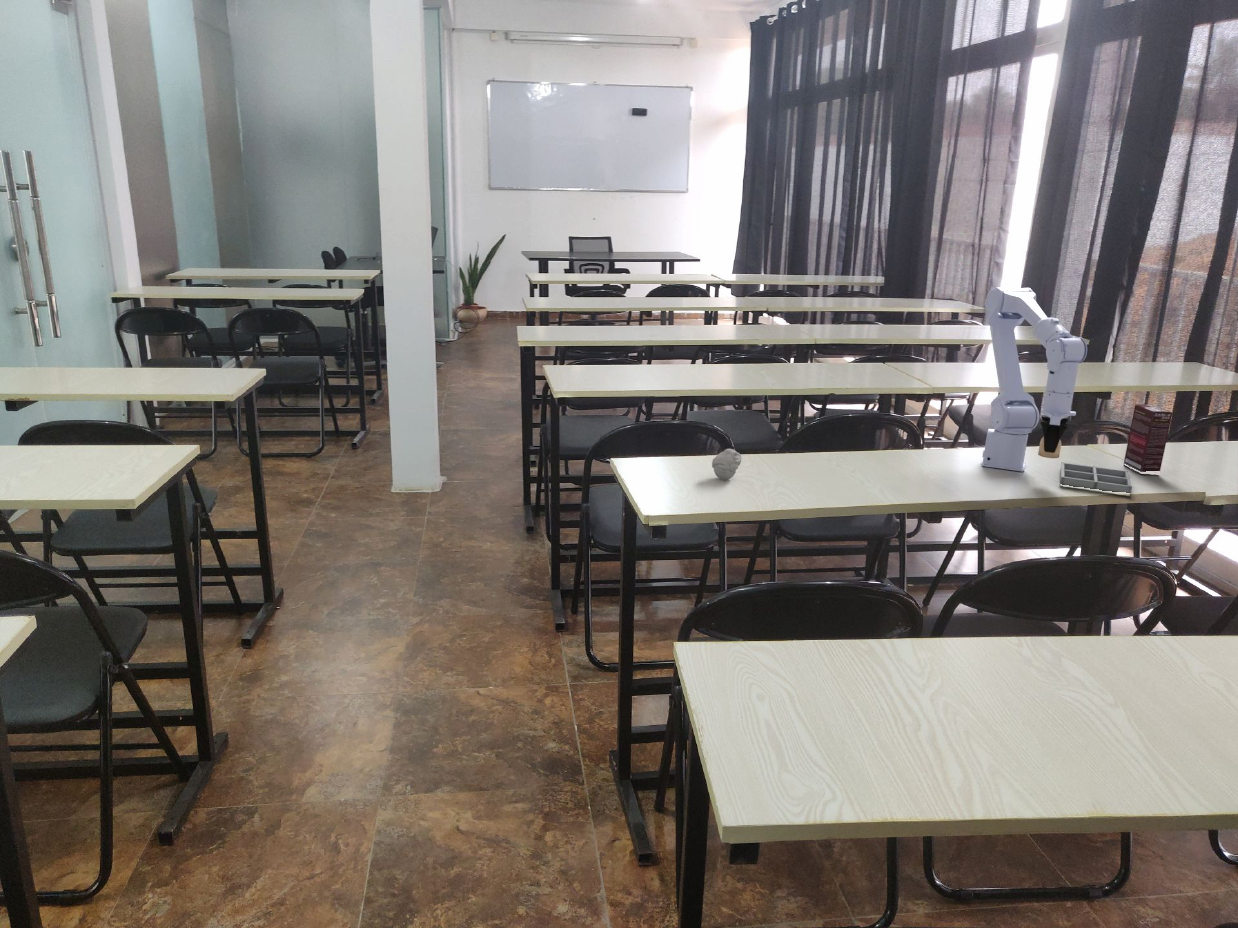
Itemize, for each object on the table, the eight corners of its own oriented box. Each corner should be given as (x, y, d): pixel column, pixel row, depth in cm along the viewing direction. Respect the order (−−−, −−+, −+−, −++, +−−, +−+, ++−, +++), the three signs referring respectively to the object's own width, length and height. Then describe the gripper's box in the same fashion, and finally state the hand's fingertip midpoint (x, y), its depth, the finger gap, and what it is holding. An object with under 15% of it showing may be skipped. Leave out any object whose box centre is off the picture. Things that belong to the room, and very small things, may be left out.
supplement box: (1160, 476, 215) (1174, 412, 211) (1140, 475, 216) (1153, 411, 211) (1141, 466, 224) (1153, 404, 219) (1121, 465, 224) (1134, 403, 219)
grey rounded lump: (745, 481, 201) (747, 451, 199) (719, 484, 198) (721, 454, 196) (731, 473, 206) (733, 444, 204) (705, 476, 203) (706, 447, 201)
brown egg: (1037, 456, 203) (1041, 435, 202) (1038, 452, 207) (1041, 431, 205) (1059, 459, 201) (1062, 437, 200) (1059, 454, 205) (1062, 433, 204)
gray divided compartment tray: (1059, 486, 204) (1061, 477, 204) (1060, 471, 217) (1061, 462, 216) (1129, 496, 199) (1131, 486, 198) (1126, 480, 211) (1127, 471, 210)
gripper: (1079, 399, 192) (1069, 459, 196) (1078, 387, 204) (1068, 444, 208) (1044, 395, 195) (1034, 454, 199) (1045, 384, 207) (1035, 440, 211)
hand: (1049, 449), depth 204 cm, fingers closed on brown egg, 4 cm apart
